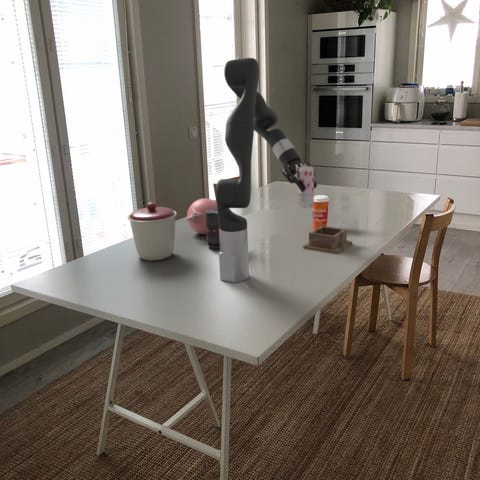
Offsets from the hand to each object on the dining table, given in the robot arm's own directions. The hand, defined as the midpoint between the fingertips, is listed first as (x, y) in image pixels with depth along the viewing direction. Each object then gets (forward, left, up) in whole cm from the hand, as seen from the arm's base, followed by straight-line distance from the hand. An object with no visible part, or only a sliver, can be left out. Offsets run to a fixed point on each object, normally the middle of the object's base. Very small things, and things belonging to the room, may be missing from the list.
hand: (309, 188), depth 194 cm
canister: (-36, +47, -24) cm, 64 cm away
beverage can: (0, +2, -7) cm, 8 cm away
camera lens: (-17, +32, -24) cm, 43 cm away
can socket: (+5, -5, -23) cm, 24 cm away
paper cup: (+25, +8, -24) cm, 35 cm away
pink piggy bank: (-6, +48, -24) cm, 54 cm away
